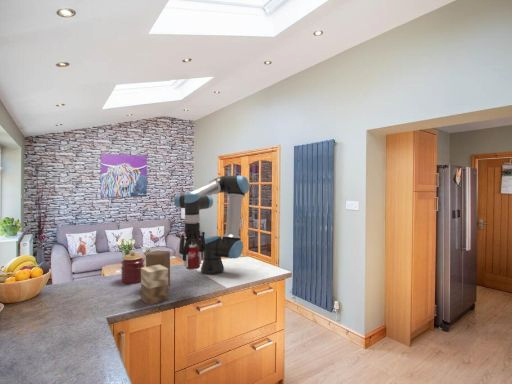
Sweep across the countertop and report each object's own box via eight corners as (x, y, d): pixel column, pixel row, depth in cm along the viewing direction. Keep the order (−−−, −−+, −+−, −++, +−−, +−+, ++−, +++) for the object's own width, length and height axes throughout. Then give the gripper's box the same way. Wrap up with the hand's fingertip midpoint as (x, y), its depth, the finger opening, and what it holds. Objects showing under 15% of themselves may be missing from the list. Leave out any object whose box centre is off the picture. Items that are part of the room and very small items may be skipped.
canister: (145, 276, 189) (144, 248, 188) (144, 283, 177) (144, 253, 176) (122, 278, 185) (122, 249, 184) (120, 285, 173) (119, 254, 172)
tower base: (160, 294, 160) (160, 279, 159) (168, 299, 152) (168, 284, 152) (141, 298, 153) (141, 283, 153) (148, 305, 146) (148, 288, 145)
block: (162, 291, 163) (161, 254, 163) (145, 290, 165) (145, 253, 165) (170, 285, 173) (170, 250, 173) (155, 283, 175) (154, 249, 175)
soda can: (195, 265, 165) (194, 243, 164) (202, 268, 160) (202, 245, 159) (183, 268, 160) (183, 245, 159) (190, 271, 155) (190, 248, 154)
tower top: (160, 279, 159) (159, 264, 159) (168, 284, 152) (168, 268, 152) (141, 283, 153) (140, 267, 153) (148, 288, 145) (148, 272, 145)
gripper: (205, 219, 168) (205, 260, 169) (171, 223, 155) (172, 267, 156) (212, 221, 162) (213, 262, 163) (177, 225, 149) (178, 270, 150)
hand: (193, 265), depth 160 cm, fingers closed on soda can, 7 cm apart
